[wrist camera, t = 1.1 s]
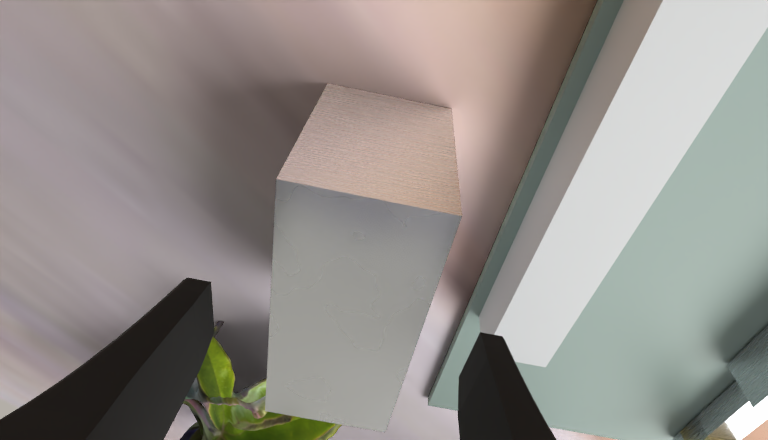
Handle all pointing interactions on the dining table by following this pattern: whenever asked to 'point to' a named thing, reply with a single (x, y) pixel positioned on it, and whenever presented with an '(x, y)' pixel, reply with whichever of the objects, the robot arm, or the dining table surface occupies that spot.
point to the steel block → (357, 253)
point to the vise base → (655, 278)
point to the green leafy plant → (240, 407)
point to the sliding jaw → (736, 398)
